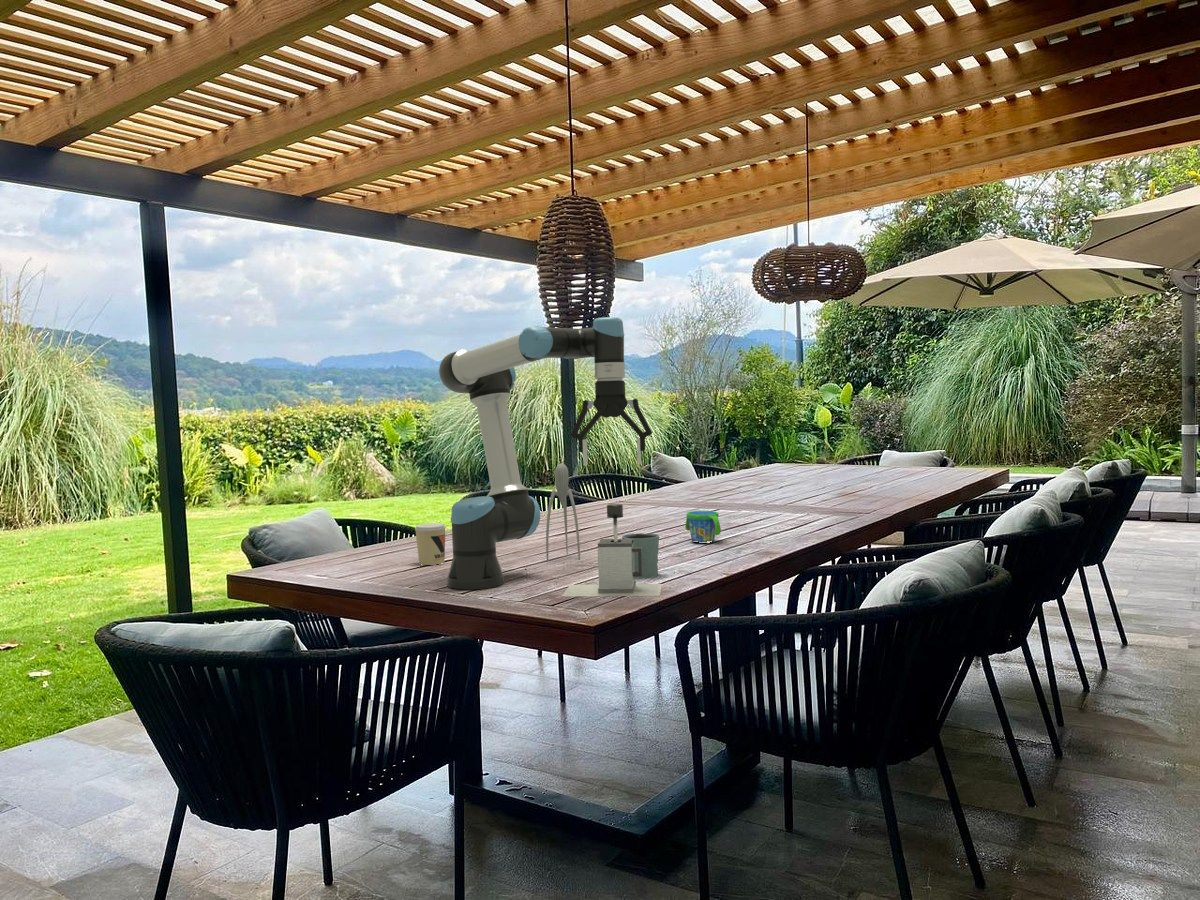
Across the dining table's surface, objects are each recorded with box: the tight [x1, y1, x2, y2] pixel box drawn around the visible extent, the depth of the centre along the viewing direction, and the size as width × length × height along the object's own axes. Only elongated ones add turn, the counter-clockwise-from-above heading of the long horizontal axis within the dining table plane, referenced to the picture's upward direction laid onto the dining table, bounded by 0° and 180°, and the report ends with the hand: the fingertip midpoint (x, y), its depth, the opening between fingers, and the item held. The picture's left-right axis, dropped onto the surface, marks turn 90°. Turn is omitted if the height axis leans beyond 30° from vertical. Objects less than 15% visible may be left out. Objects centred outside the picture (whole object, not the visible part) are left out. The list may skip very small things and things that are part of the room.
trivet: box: [562, 583, 663, 598], centre depth 231 cm, size 24×14×1 cm, turn 84°
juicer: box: [545, 462, 581, 562], centre depth 285 cm, size 10×9×30 cm
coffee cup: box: [414, 522, 447, 566], centre depth 284 cm, size 9×9×12 cm
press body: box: [597, 538, 642, 593], centre depth 231 cm, size 11×9×12 cm
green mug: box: [621, 533, 660, 579], centre depth 249 cm, size 10×10×12 cm
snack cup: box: [685, 510, 722, 542], centre depth 308 cm, size 16×10×10 cm
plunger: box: [606, 503, 624, 542], centre depth 231 cm, size 6×6×18 cm
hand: (612, 465), depth 230 cm, fingers open, 13 cm apart
